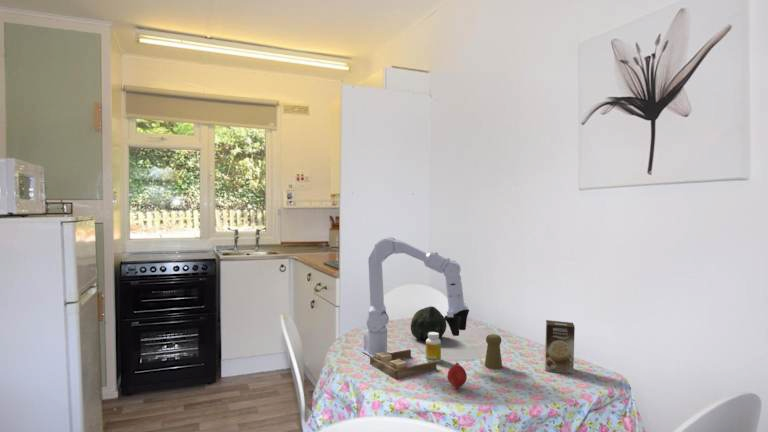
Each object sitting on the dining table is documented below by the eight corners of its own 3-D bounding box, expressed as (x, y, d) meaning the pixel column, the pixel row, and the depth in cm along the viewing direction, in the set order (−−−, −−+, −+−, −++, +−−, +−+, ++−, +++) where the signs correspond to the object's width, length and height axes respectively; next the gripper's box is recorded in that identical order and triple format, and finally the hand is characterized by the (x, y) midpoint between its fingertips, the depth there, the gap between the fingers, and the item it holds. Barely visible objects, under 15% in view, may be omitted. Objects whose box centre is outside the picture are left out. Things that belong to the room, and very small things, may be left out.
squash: (412, 319, 198) (412, 299, 188) (446, 322, 196) (447, 301, 186) (409, 347, 188) (409, 327, 178) (445, 351, 186) (446, 330, 176)
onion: (445, 384, 138) (445, 359, 138) (463, 384, 138) (463, 358, 138) (449, 392, 132) (450, 365, 132) (468, 391, 133) (469, 365, 132)
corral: (369, 364, 156) (370, 357, 156) (409, 356, 165) (409, 349, 165) (395, 378, 142) (395, 371, 142) (436, 369, 151) (436, 361, 151)
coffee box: (544, 371, 151) (545, 324, 150) (544, 365, 157) (545, 319, 156) (574, 374, 148) (574, 326, 147) (572, 368, 154) (573, 322, 153)
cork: (502, 370, 151) (503, 337, 151) (484, 368, 152) (485, 336, 152) (501, 364, 157) (502, 333, 157) (484, 362, 158) (484, 332, 158)
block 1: (375, 364, 155) (375, 353, 155) (385, 362, 158) (385, 351, 157) (381, 368, 152) (381, 356, 152) (391, 366, 154) (391, 354, 154)
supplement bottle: (438, 363, 157) (439, 336, 157) (424, 361, 159) (424, 334, 159) (442, 358, 162) (442, 332, 162) (427, 356, 164) (428, 330, 164)
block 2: (389, 373, 148) (389, 361, 147) (398, 370, 150) (399, 359, 150) (397, 376, 144) (397, 364, 144) (406, 374, 147) (406, 362, 147)
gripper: (459, 298, 151) (463, 338, 151) (471, 291, 164) (475, 327, 164) (439, 299, 154) (444, 338, 154) (453, 291, 167) (457, 327, 167)
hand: (459, 332), depth 159 cm, fingers open, 7 cm apart
